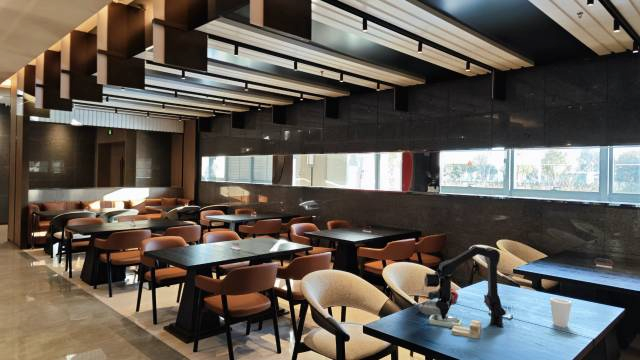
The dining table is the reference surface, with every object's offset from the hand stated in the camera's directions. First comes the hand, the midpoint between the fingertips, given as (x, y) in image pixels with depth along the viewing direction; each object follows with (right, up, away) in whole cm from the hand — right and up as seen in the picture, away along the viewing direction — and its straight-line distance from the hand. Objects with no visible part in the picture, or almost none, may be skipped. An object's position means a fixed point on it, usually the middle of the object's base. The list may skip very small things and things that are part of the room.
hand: (444, 316), depth 214 cm
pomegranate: (+15, -4, +40) cm, 43 cm away
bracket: (+6, -4, -13) cm, 15 cm away
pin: (0, -1, 0) cm, 1 cm away
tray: (0, -4, 0) cm, 4 cm away
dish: (-1, -4, +17) cm, 18 cm away
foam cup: (+61, -5, +1) cm, 61 cm away
